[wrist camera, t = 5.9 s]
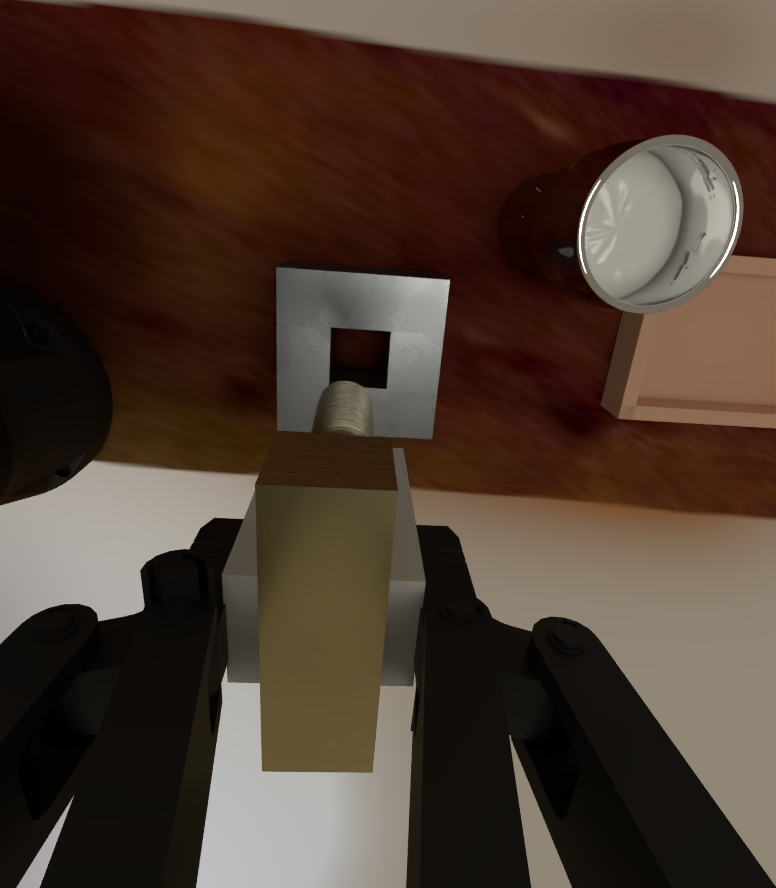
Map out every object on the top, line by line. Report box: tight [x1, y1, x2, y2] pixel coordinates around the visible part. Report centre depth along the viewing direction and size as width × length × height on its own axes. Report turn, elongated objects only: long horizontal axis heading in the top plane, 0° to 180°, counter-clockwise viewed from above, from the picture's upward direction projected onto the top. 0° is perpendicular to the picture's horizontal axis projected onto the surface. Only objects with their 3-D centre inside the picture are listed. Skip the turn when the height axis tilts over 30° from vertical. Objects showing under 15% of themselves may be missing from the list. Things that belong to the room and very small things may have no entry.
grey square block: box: [276, 261, 450, 439], centre depth 35 cm, size 10×10×5 cm
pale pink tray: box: [601, 255, 776, 428], centre depth 37 cm, size 14×11×3 cm
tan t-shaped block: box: [255, 381, 398, 772], centre depth 17 cm, size 7×2×14 cm, turn 176°
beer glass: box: [499, 135, 743, 314], centre depth 28 cm, size 7×7×15 cm
